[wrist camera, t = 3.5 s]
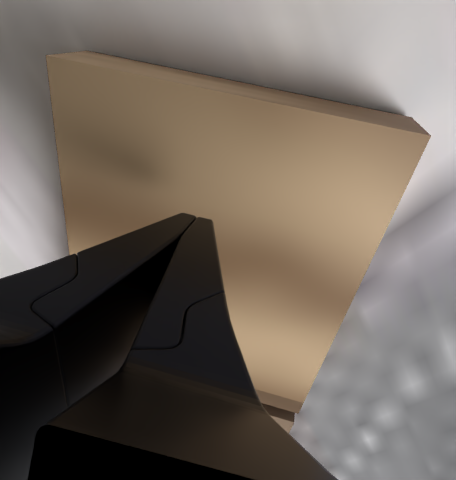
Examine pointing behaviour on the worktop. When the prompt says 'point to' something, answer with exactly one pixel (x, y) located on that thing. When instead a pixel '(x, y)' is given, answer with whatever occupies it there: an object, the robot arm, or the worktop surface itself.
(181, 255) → the robot arm
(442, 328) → the worktop surface
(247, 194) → the tan rectangular slab
